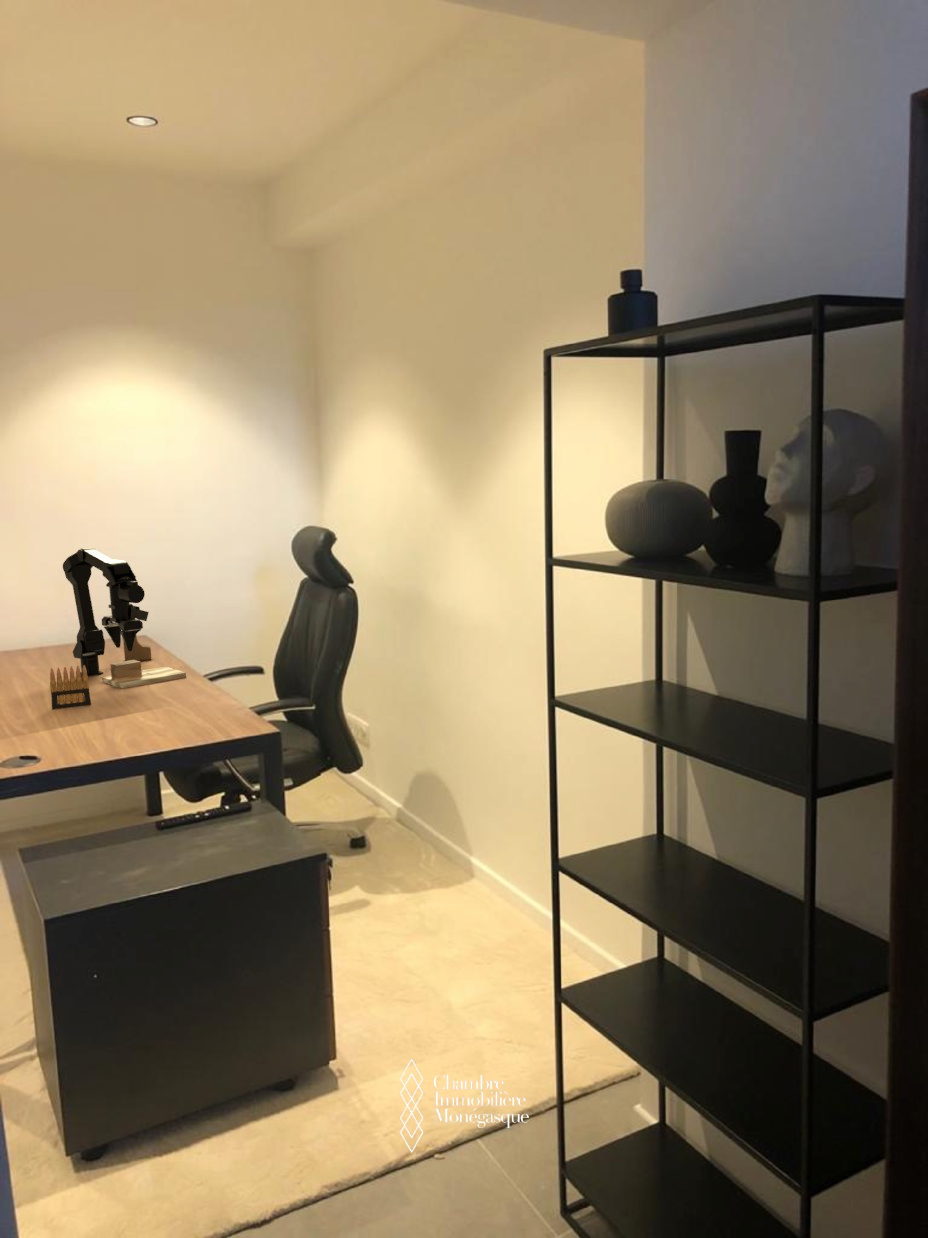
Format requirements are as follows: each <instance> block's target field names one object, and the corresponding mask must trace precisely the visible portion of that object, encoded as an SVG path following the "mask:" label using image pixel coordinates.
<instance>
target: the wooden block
mask: <svg viewBox="0 0 928 1238" xmlns="http://www.w3.org/2000/svg"><path fill="white" fill-rule="evenodd" d="M137 637H138V636H137V634H136V635H135V639H134V643H133V648H132V651H128V649H127V647H126V645H125V642H124V640H123V639H122V641H123V653H124V661H129V660H137V661H140V662H141V661H149V660H152V650H151V645H148V644H147V645H146V644H141V643H140V642H139V640H138V638H137Z"/></svg>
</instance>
